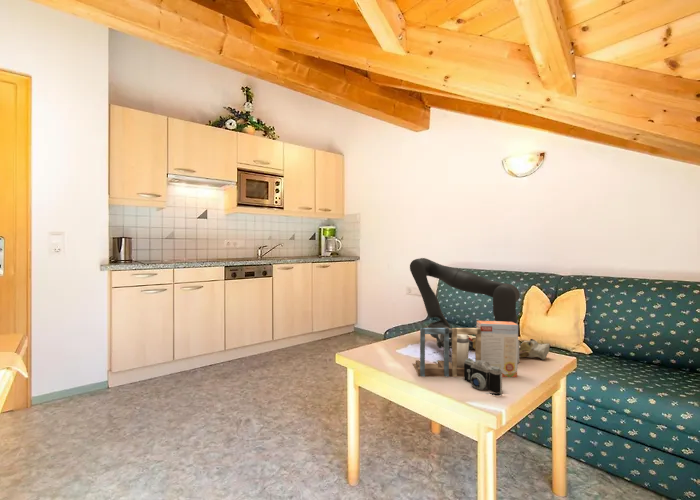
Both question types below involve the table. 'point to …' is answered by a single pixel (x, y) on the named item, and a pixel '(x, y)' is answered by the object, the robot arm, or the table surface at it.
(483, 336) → the cracker box
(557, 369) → the table surface
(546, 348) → the ceramic sculpture
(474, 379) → the camera
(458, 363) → the white cylinder
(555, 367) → the table surface
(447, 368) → the wooden rack
